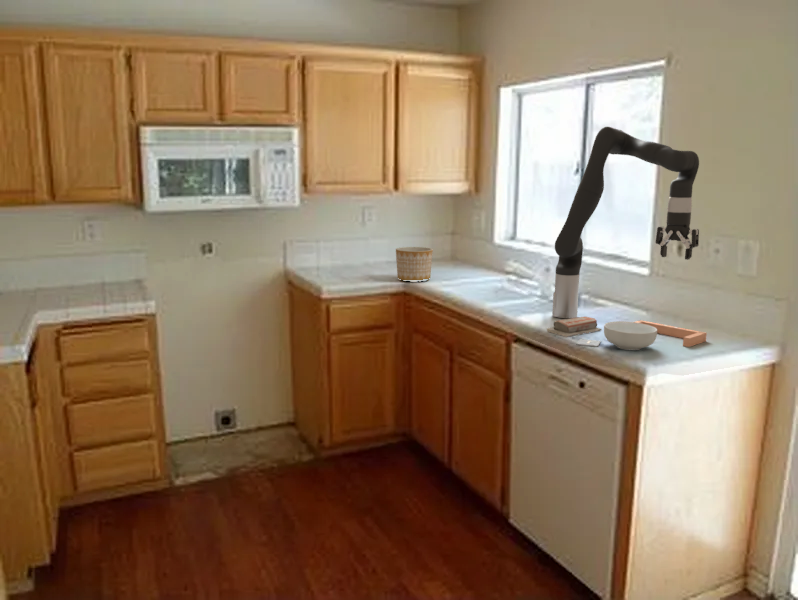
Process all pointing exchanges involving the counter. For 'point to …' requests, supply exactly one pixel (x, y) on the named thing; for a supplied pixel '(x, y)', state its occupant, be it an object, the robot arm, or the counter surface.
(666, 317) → the counter surface
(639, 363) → the counter surface
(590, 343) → the tile
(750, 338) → the counter surface
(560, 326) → the packaged product
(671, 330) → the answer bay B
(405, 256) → the planter
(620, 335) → the cereal bowl
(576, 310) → the robot arm
